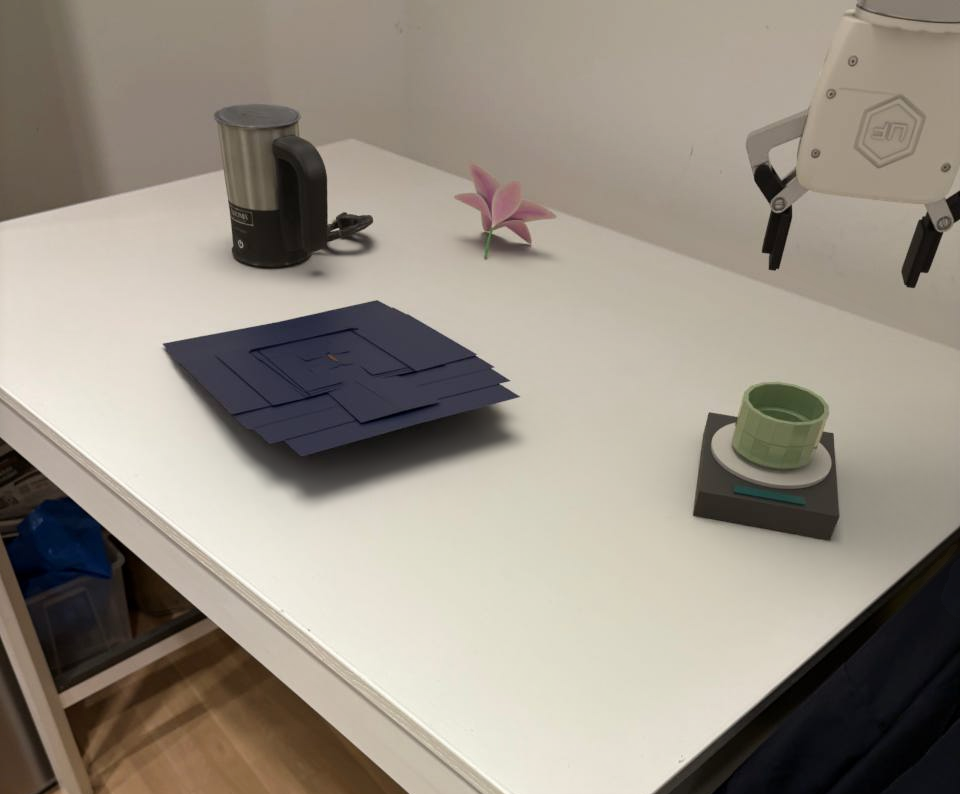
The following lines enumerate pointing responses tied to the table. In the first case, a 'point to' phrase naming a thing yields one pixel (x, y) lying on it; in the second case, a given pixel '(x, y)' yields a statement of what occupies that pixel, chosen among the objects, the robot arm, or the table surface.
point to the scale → (765, 486)
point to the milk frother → (276, 187)
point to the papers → (339, 375)
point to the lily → (502, 204)
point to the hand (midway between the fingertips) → (839, 272)
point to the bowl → (779, 425)
